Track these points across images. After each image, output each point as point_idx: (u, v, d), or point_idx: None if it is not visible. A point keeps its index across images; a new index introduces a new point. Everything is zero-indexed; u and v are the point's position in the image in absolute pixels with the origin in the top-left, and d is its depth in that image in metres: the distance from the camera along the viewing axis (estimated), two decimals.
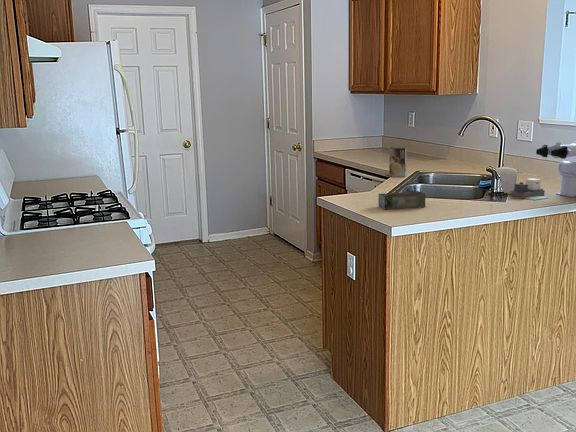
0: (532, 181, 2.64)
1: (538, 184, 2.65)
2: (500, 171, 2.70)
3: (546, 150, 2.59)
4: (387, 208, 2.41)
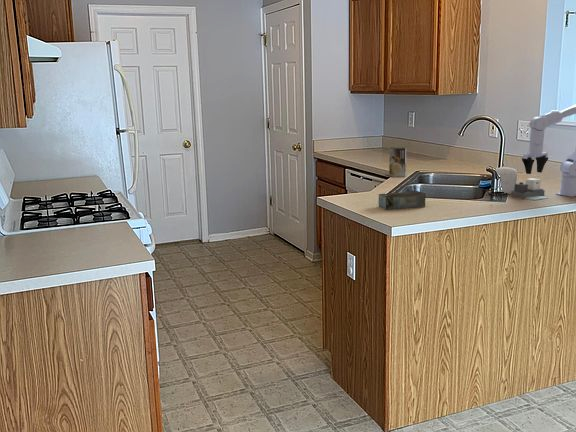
0: (532, 181, 2.64)
1: (538, 184, 2.65)
2: (500, 171, 2.70)
3: (539, 159, 2.66)
4: (388, 208, 2.41)
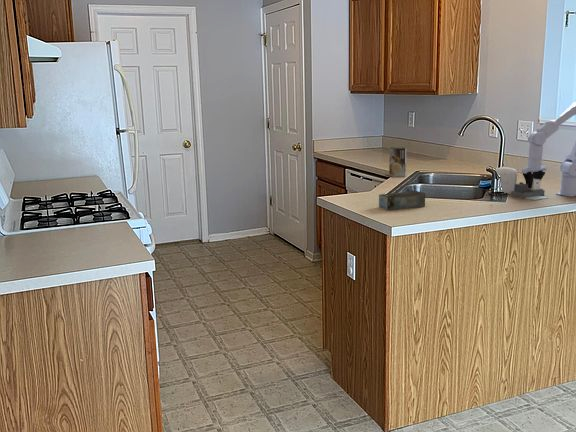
0: None
1: (538, 184, 2.65)
2: (500, 171, 2.70)
3: (536, 173, 2.67)
4: (389, 208, 2.40)
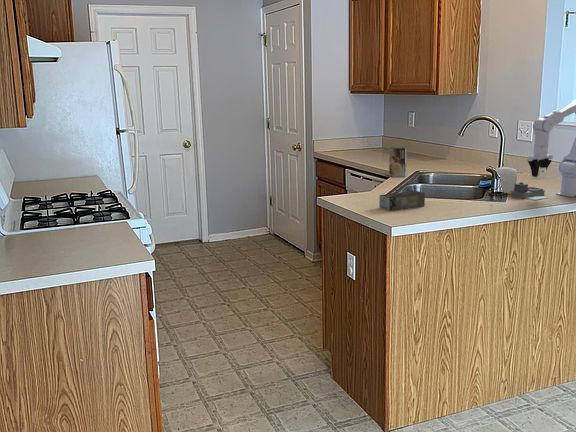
0: None
1: (544, 173, 2.56)
2: (500, 171, 2.70)
3: (542, 161, 2.58)
4: (391, 209, 2.39)
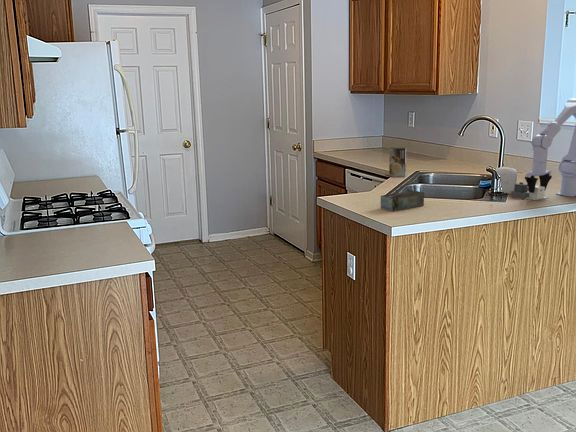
0: (536, 188, 2.57)
1: (542, 191, 2.58)
2: (500, 171, 2.70)
3: (543, 177, 2.60)
4: (394, 209, 2.38)
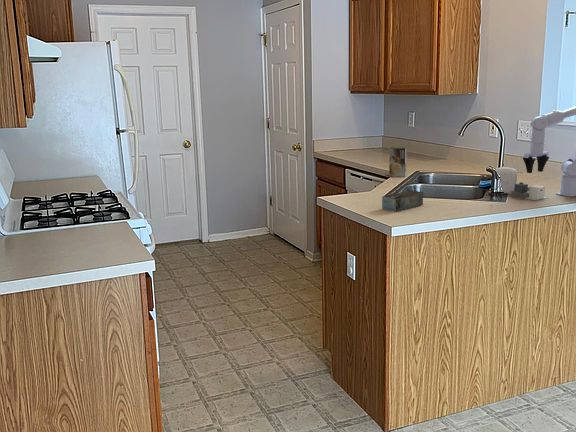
0: (536, 188, 2.57)
1: (542, 191, 2.58)
2: (500, 171, 2.70)
3: (540, 158, 2.68)
4: (397, 210, 2.38)
